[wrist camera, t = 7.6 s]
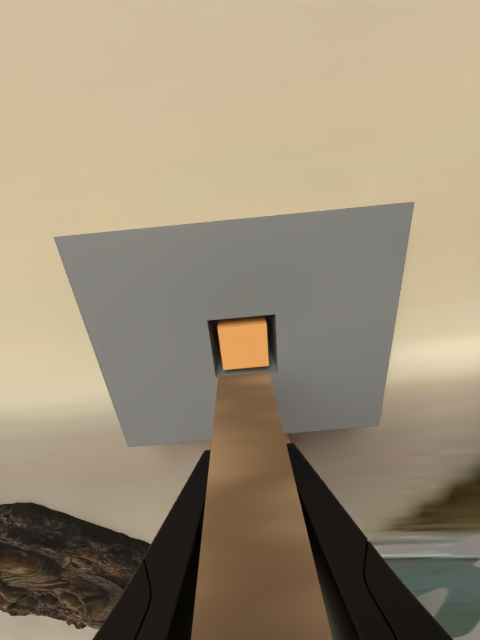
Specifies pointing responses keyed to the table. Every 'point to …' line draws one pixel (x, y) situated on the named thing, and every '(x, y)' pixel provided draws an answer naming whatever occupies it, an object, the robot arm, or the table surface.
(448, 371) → the table surface
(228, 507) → the brown wooden bar
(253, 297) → the box
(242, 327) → the button
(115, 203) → the table surface
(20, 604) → the stone relief
